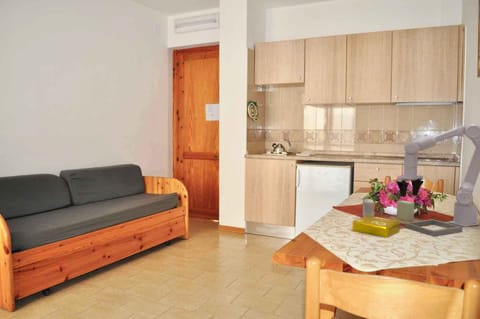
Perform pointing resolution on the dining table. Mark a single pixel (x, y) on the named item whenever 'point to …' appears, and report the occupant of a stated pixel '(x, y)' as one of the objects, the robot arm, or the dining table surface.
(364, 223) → the element tile
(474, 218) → the robot arm
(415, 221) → the walnut board
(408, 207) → the parts box
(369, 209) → the medicine box
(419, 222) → the grey flat square frame
